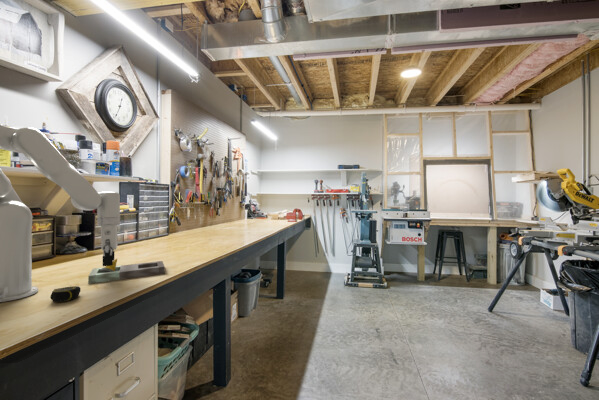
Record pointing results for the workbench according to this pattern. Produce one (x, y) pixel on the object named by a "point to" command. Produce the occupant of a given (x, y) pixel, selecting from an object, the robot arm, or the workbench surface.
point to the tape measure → (65, 294)
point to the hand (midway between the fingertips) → (108, 263)
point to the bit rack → (127, 272)
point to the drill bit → (109, 268)
